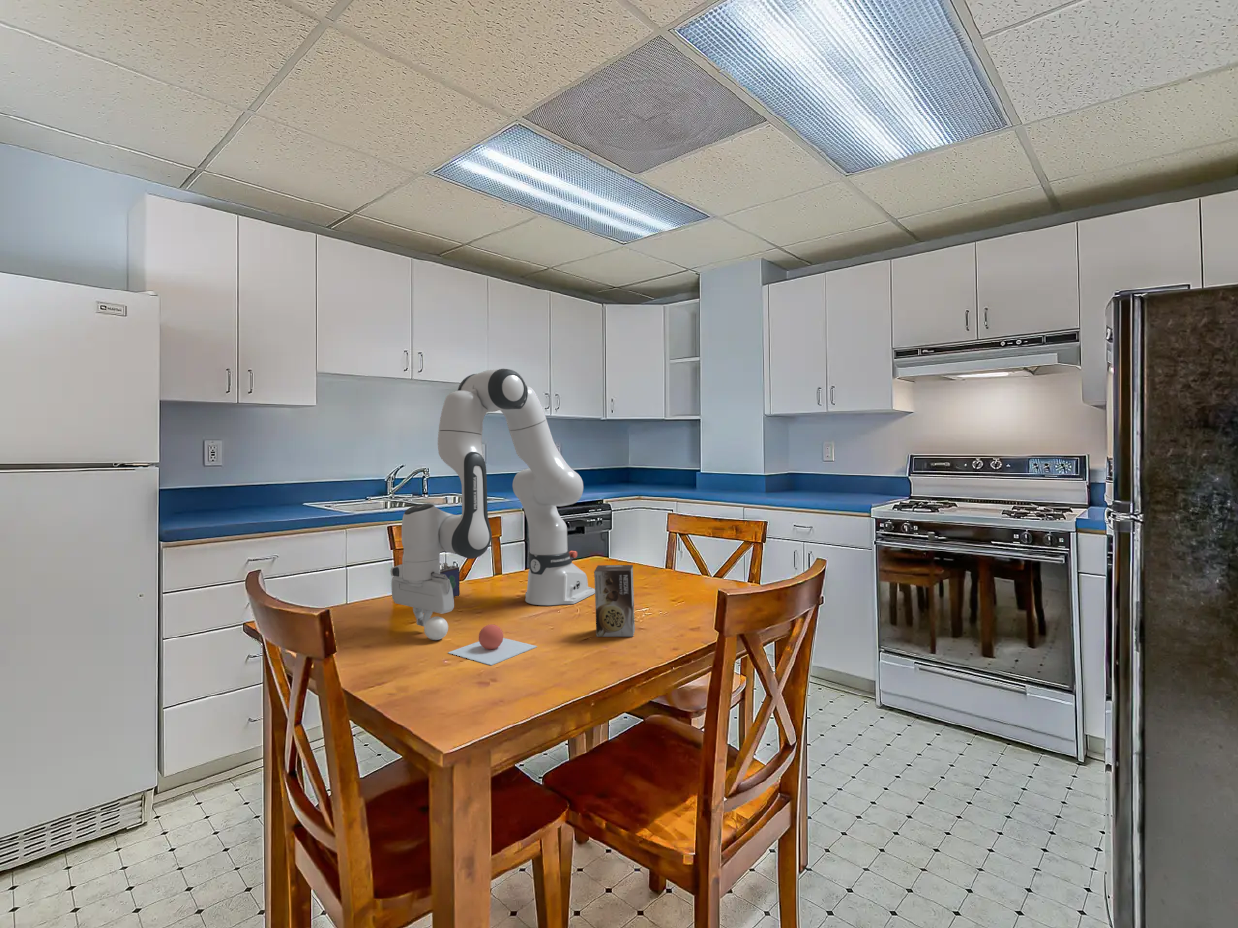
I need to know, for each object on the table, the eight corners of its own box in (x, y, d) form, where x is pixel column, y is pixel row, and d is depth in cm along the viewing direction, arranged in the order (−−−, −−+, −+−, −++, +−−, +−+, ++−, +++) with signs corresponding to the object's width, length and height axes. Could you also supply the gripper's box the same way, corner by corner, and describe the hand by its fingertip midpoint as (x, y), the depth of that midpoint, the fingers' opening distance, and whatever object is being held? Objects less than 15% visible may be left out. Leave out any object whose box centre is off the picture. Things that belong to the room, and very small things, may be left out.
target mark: (494, 636, 152) (494, 635, 152) (537, 646, 144) (537, 645, 144) (447, 653, 141) (447, 652, 141) (491, 665, 132) (491, 664, 132)
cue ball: (451, 620, 149) (454, 635, 152) (437, 607, 152) (440, 622, 155) (431, 634, 146) (434, 648, 149) (417, 621, 148) (421, 635, 152)
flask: (438, 602, 185) (436, 566, 185) (431, 601, 187) (430, 565, 187) (462, 595, 193) (461, 560, 193) (455, 594, 195) (454, 559, 194)
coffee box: (635, 629, 156) (634, 564, 155) (633, 637, 149) (632, 569, 149) (598, 628, 157) (597, 564, 156) (595, 636, 150) (593, 569, 150)
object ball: (512, 637, 143) (499, 649, 146) (499, 617, 145) (487, 629, 147) (494, 644, 139) (481, 657, 141) (482, 623, 140) (469, 636, 143)
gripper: (459, 572, 153) (461, 628, 153) (407, 563, 165) (409, 616, 165) (438, 577, 148) (440, 635, 148) (386, 568, 160) (388, 622, 160)
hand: (423, 625), depth 157 cm, fingers closed
